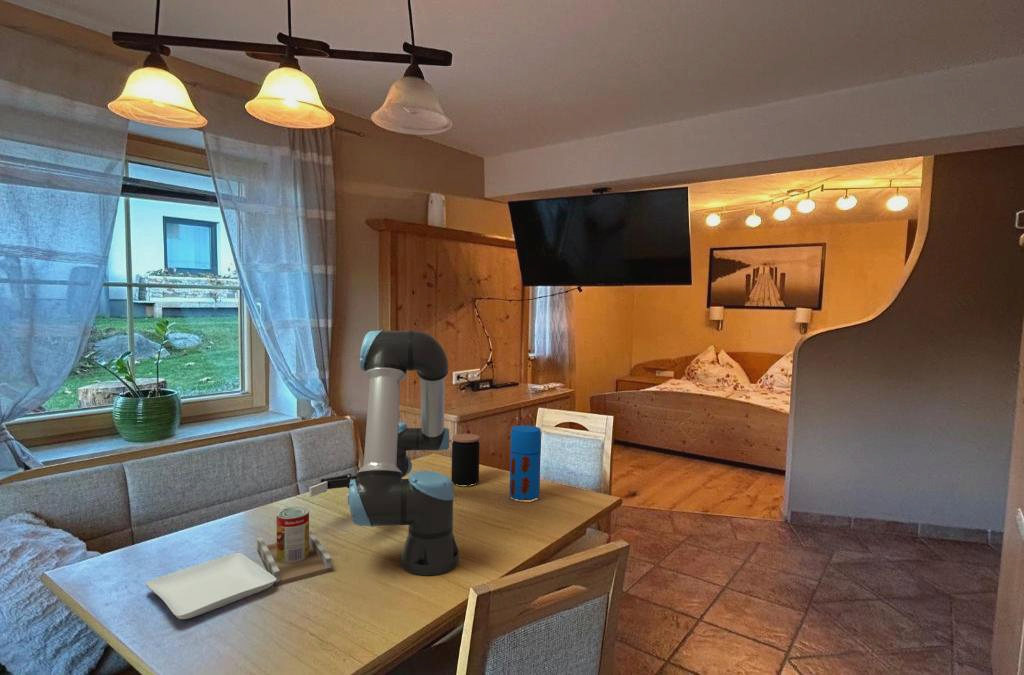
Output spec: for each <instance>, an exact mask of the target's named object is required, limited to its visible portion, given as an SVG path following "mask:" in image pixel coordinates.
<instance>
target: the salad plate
mask: <svg viewBox="0 0 1024 675" xmlns="http://www.w3.org/2000/svg"><path fill="white" fill-rule="evenodd" d="M276 580H277V579H276V578H275V577H274V576H273V575H272V574H270V573H269V572H267V570H266V568H264V567H262V566H260V565H259V564H257V563H256V562H255V561H253V560H251V559H250V558H248V556H246V555H244V554H243V553H242V552H236V553H235V552H234V553H231V554H229V555H225V556H223V557H217V558H215V559H212V560H209V561H206V562H202V563H200V564H196V565H194V566H193V565H192V566H190V567H187V568H186V567H185V568H184V569H181V570H178V571H175V572H172V573H168V574H166V575H162V576H159V577H156V578H153V579H150V580H148V581H147V582H146V583H145V586H146V587H147V588H148V589H149V590H150V591H151V592H152V593H154V595H156V596H158V597H159V599H161V600H162V602H163V603H164V604H165V605H166V606H167V608H168V609H169V610H170V611H171V613H172V614H173V615H174V616H175V617H176V618H177V619H179V620H187V619H192V618H194V617H197V616H198V617H199V616H201V615H204V614H206V612H207V613H209V612H212V611H214V610H217V609H219V608H222V607H225V606H227V605H230V604H232V603H234V602H237V601H239V600H242V599H244V598H247V597H249V596H252V595H256V594H257V593H261V592H264V591H265V590H266V589H268V588H270V587H271V586H273V584H274V583H275V581H276ZM203 613H204V614H203Z"/></svg>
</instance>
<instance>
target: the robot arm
mask: <svg viewBox="0 0 1024 675" xmlns="http://www.w3.org/2000/svg"><path fill="white" fill-rule="evenodd" d="M359 357H360V358H359V368H360V370H362V371H363V372H364V376H365V377H366V378H367V380H368V381H369V387H368V388H369V389H368V402H367V414H366V428H365V441H364V442H365V443H364V455H363V465H362V467H361V468H360V469H359V470H357V471H356V472H357V473H356V474H355V475H352V473H349V472H348V473H347V474H344V475H338V476H333V477H332V476H331V477H327V478H321V479H320V482H319V483H318V484H316V485H312V486H309V488H308V497H309V498H312V497H315V496H317V495H320V494H322V493H326V492H327V491H328V490H333V489H340V488H341V489H343V488H347V489H348V493H347V494H345V505H349V511H350V517H351V519H352V522H353V524H354V525H356V526H357V527H370V528H374V527H385V526H389V527H390V526H408V532H407V533H408V534H407V536H406V540H405V543H404V546H403V550H402V552H401V558H400V559H401V562H400V565H401V567H402V568H403V569H404V570H405V571H407V572H408V573H410V574H414V575H419V576H436V575H437V576H438V575H442V574H444V573H448V572H450V571H452V570H454V568H456V567H457V566H458V564H459V562H460V551H459V547H458V545H457V542H456V541H457V540H456V538H455V535H454V530H453V529H454V516H453V515H454V499H455V494H454V484H453V482H452V480H451V478H450V477H449V476H447V475H446V474H444V473H441V472H437V471H433V470H432V471H431V470H418V471H413V472H411V471H412V468H413V464H412V461H411V458H410V457H409V456H408V455H407V451H436V452H438V451H445V450H448V449H449V448H450V428H448V427H445V396H446V395H445V394H446V393H445V392H446V391H445V389H446V388H445V387H446V386H445V384H446V378H447V376H448V374H449V360H448V356H447V354H446V351H445V350H444V348H443V347H442V345H441V343H440V342H439V341H438V340H437V339H436V338H435V337H433V336H432V335H430V334H428V333H426V332H424V331H420V330H413V331H411V330H410V331H409V330H384V329H381V330H371V331H368V332H367V333H366V334H365V336H364V337H363V340H362V343H361V348H360V354H359ZM408 371H413V372H414V371H416V374H417V377H418V378H419V385H420V386H419V387H420V388H419V389H420V427H408V425H407V423H406V422H405V421H400V418H399V417H400V402H401V400H400V397H401V395H400V394H401V382H402V381H403V380H405V379H406V378H407V372H408ZM410 472H411V473H410ZM408 475H409V476H408ZM406 476H408V478H404V477H406Z"/></svg>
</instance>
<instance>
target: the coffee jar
mask: <svg viewBox="0 0 1024 675" xmlns="http://www.w3.org/2000/svg"><path fill="white" fill-rule="evenodd" d="M480 438H481V437H480V436H479V435H478V434H473V433H458V434H457V433H456V434H454V435H452V437H451V440H452V443H451V444H452V445H451V476H450V477H451V478H450V479H451V480H452V482H453V483H454V484H458V485H471V484H475V483H477V484H478V483H479V481H480V448H481V447H480V442H479V441H480ZM454 484H453V485H454Z"/></svg>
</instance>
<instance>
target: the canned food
mask: <svg viewBox="0 0 1024 675" xmlns="http://www.w3.org/2000/svg"><path fill="white" fill-rule="evenodd" d="M309 529H310V510H309V508H308V507H305V506H291V507H285V508H283V509H281V510H279V511H278V512H276V543H277V561H278V562H280V563H283V564H293V563H297V562H301V561H303V560H305V559H306V558H307V557H308V556H309Z"/></svg>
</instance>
